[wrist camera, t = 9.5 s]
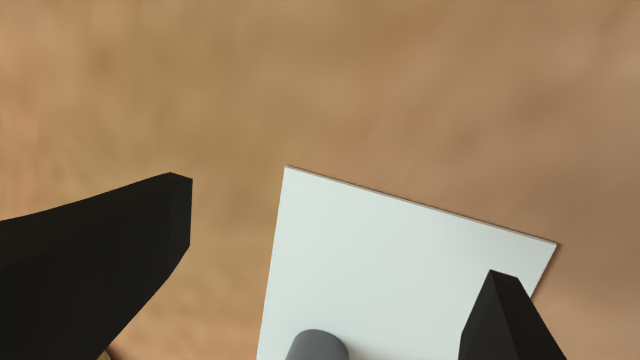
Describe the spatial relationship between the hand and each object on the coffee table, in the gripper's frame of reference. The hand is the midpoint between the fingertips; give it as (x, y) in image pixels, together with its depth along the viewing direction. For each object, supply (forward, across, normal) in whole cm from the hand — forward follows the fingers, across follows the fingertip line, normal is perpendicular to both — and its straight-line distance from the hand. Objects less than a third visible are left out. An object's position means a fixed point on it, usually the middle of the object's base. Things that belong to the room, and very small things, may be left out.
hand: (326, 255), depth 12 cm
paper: (+10, -2, +10) cm, 15 cm away
